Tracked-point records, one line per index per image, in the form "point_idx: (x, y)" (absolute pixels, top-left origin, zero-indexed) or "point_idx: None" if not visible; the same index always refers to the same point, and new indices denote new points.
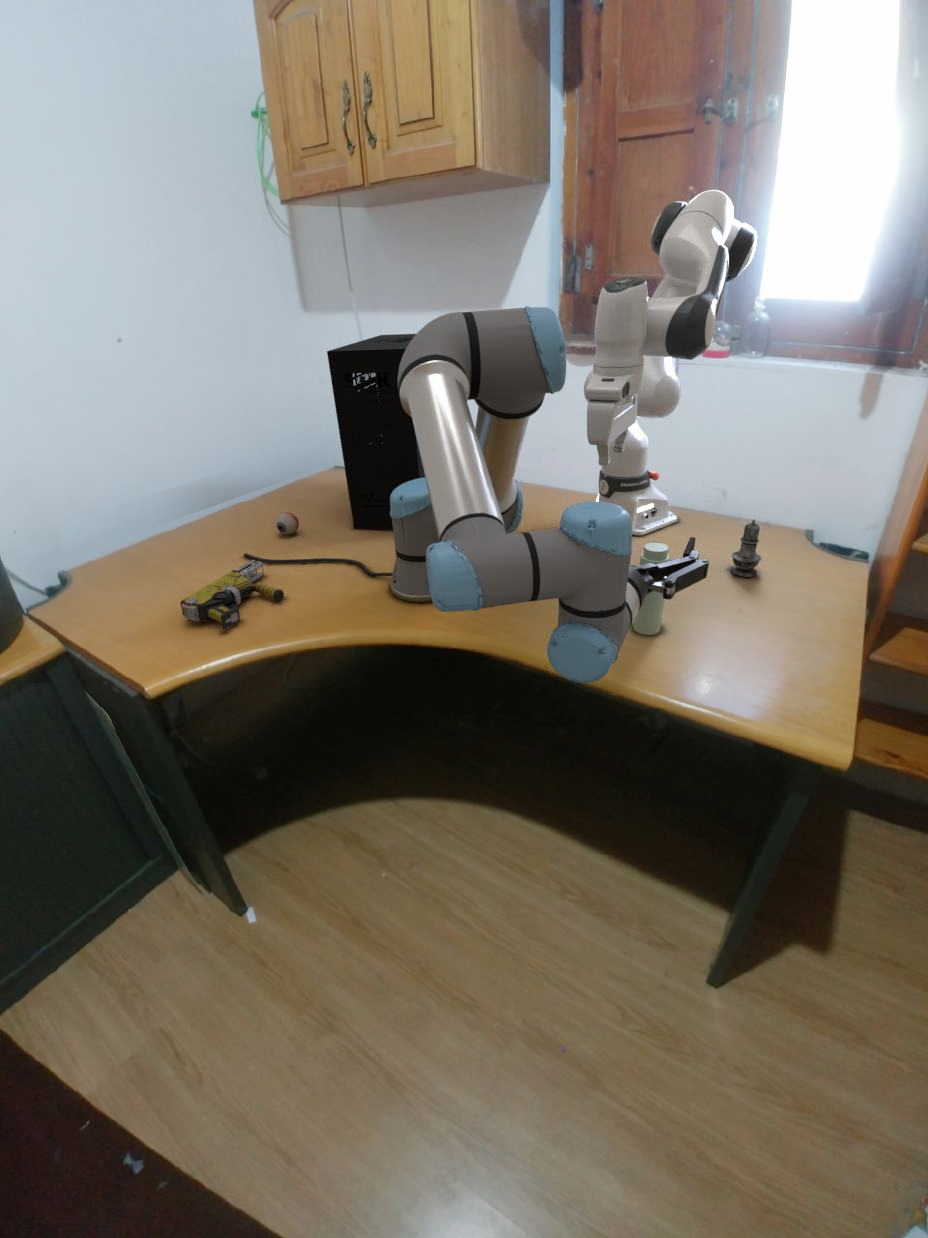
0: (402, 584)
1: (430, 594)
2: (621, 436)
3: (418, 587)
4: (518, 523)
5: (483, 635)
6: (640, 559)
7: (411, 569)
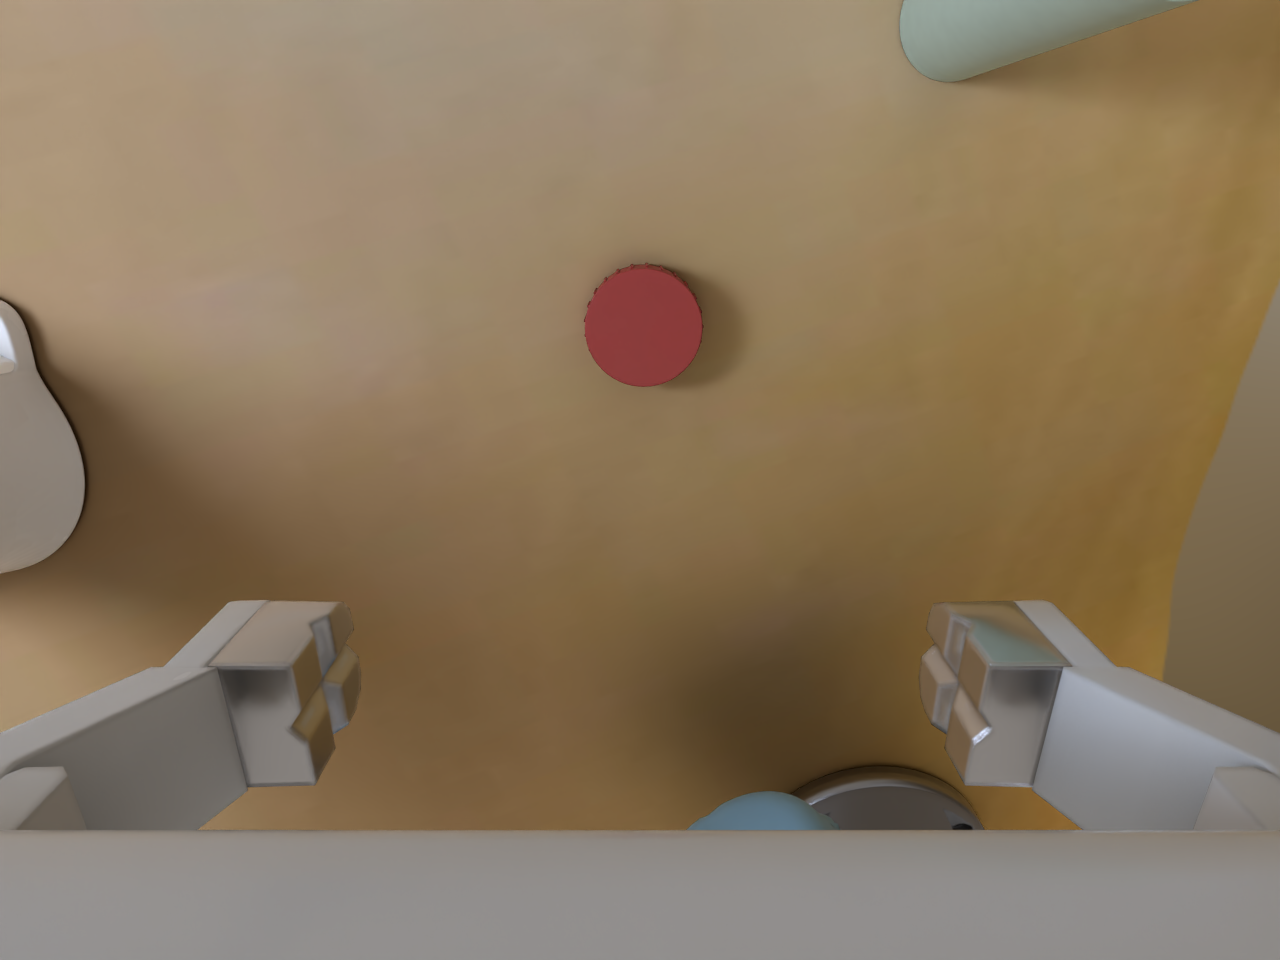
0: None
1: (976, 821)
2: (122, 784)
3: None
4: (811, 808)
5: (1138, 577)
6: (1191, 2)
7: None
